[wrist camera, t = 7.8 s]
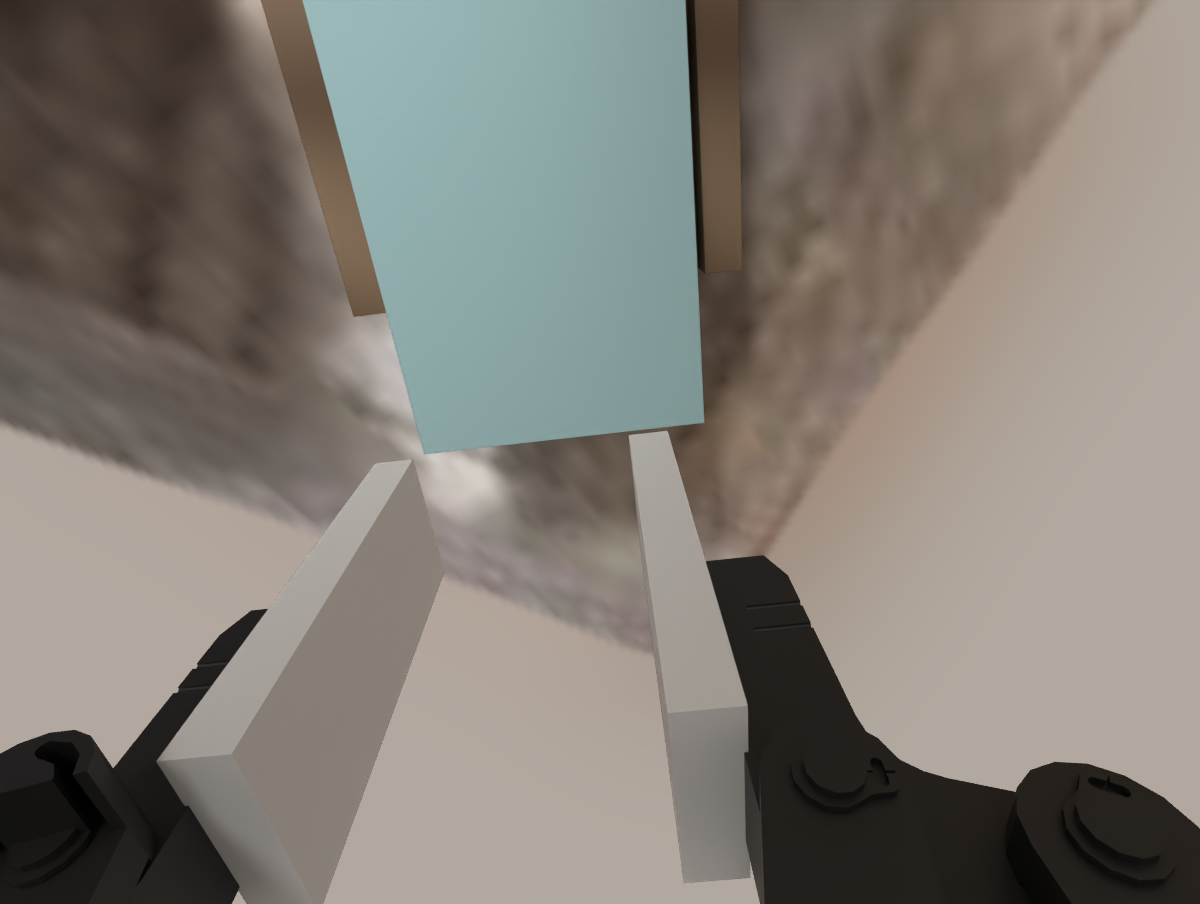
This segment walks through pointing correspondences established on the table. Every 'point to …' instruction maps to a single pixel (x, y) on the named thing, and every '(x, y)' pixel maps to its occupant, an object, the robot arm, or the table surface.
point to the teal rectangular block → (525, 208)
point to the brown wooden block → (711, 133)
